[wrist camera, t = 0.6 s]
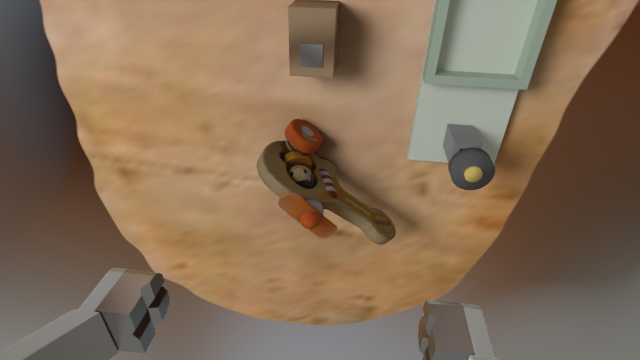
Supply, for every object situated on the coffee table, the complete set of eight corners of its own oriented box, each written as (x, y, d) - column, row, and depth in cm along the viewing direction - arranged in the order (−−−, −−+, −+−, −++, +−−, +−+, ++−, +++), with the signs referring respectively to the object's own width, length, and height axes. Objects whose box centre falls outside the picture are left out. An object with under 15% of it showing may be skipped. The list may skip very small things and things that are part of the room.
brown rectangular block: (296, -1, 42) (288, 6, 38) (339, 1, 41) (335, 9, 37) (297, 62, 46) (289, 75, 41) (336, 64, 45) (333, 78, 41)
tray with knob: (448, -80, 36) (460, -81, 31) (567, -76, 35) (600, -78, 30) (407, 155, 51) (411, 180, 46) (491, 161, 50) (504, 188, 45)
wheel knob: (448, 131, 43) (456, 155, 38) (487, 134, 42) (501, 158, 38) (440, 164, 45) (447, 190, 41) (477, 167, 45) (489, 193, 40)
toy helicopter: (288, 107, 49) (263, 161, 38) (409, 190, 54) (419, 260, 43) (258, 151, 53) (227, 211, 42) (373, 224, 58) (373, 296, 47)
